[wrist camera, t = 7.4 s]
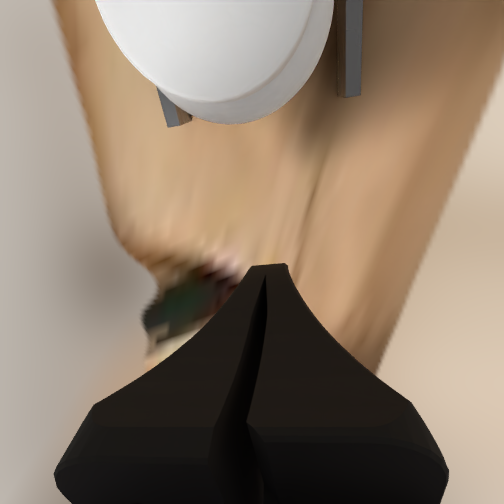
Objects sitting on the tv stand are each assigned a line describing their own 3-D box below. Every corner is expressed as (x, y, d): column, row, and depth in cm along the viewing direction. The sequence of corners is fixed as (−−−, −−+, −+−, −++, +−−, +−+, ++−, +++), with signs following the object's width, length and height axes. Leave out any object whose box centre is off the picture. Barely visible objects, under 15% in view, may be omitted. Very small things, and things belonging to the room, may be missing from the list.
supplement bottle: (170, 1, 13) (-49, -170, 4) (288, -67, 11) (314, -520, 3) (221, 125, 15) (146, 177, 7) (323, 82, 14) (393, 76, 5)
